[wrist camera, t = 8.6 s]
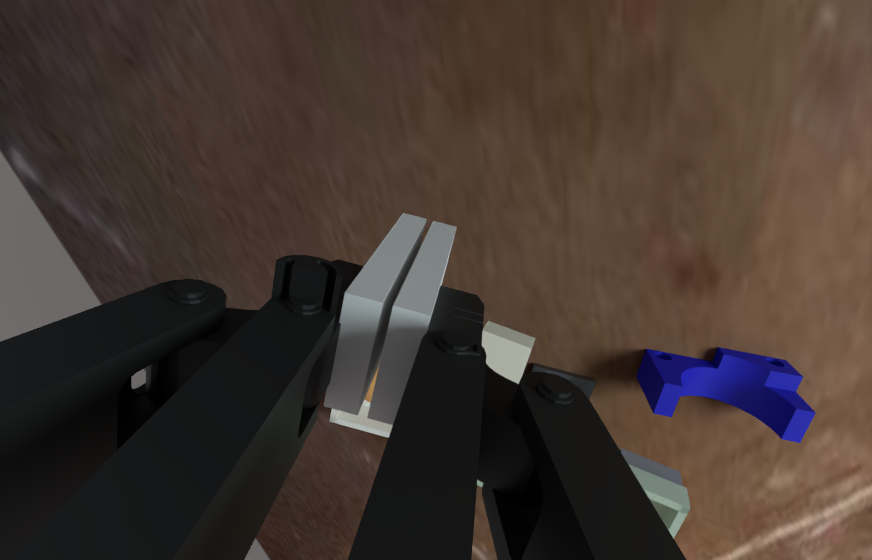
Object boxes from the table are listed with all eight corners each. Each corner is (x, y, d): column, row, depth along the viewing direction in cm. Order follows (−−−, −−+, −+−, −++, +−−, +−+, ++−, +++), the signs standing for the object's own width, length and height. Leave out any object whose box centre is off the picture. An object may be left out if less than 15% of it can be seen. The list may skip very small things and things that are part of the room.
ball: (398, 402, 50) (372, 384, 52) (406, 372, 49) (379, 355, 51) (374, 416, 48) (347, 397, 49) (381, 385, 46) (354, 366, 48)
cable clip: (784, 359, 46) (823, 397, 41) (765, 400, 48) (799, 442, 42) (650, 333, 47) (671, 367, 41) (635, 375, 49) (653, 413, 43)
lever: (446, 430, 50) (429, 463, 46) (485, 303, 45) (470, 325, 40) (654, 519, 46) (658, 565, 41) (723, 389, 41) (737, 425, 36)
